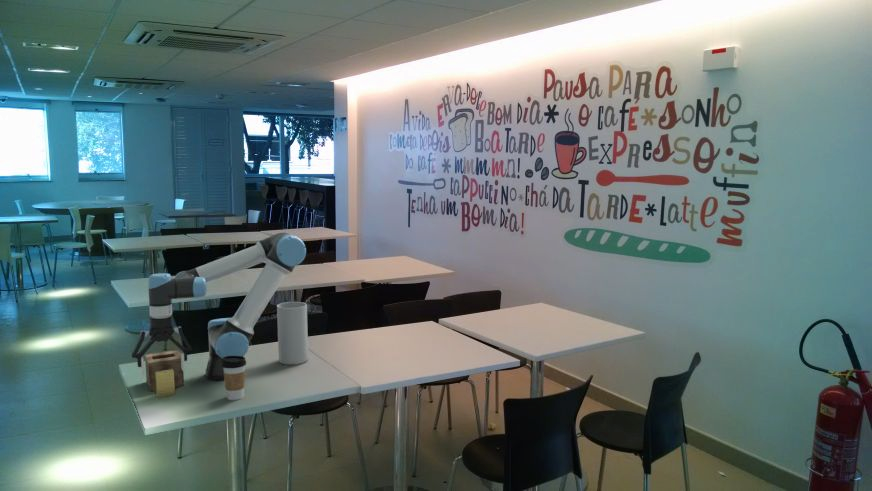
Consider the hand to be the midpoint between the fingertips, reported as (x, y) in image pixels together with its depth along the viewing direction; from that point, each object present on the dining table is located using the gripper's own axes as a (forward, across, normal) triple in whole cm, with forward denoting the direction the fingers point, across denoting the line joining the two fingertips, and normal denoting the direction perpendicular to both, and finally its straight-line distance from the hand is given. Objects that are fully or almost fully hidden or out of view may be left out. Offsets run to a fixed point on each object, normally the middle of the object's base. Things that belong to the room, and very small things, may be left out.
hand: (163, 372), depth 222 cm
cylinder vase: (+8, -54, -15) cm, 57 cm away
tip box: (+9, -2, -13) cm, 16 cm away
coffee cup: (+8, -22, +16) cm, 29 cm away
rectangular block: (+9, -1, 0) cm, 9 cm away
